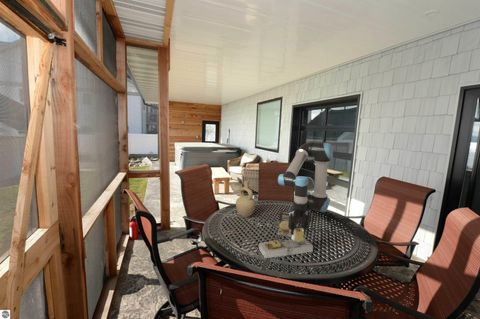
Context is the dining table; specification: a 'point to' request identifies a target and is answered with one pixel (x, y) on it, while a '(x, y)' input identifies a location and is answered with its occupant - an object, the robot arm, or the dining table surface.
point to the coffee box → (284, 224)
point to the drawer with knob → (274, 244)
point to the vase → (245, 201)
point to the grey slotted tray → (286, 248)
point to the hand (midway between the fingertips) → (297, 238)
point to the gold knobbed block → (299, 235)
